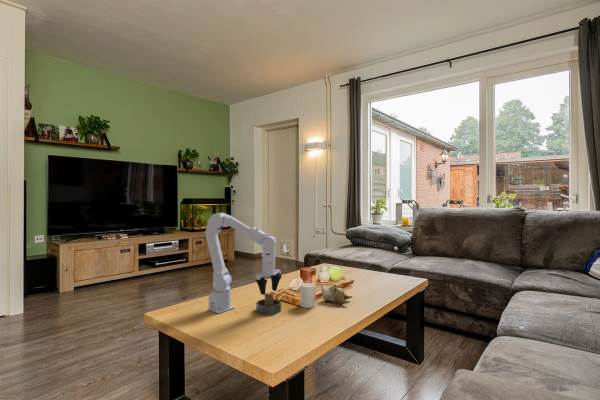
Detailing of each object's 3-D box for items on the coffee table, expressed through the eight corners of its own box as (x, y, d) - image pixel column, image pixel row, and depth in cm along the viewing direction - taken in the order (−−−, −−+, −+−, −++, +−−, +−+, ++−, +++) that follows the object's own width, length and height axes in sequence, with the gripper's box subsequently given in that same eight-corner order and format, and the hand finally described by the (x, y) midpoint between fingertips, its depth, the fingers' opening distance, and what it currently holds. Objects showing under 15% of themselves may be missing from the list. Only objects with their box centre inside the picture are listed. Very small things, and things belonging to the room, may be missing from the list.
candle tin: (269, 316, 143) (269, 308, 143) (251, 310, 150) (251, 303, 150) (285, 309, 152) (285, 302, 152) (268, 304, 158) (268, 297, 158)
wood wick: (269, 311, 147) (269, 296, 147) (261, 309, 150) (261, 294, 150) (276, 308, 151) (276, 294, 151) (268, 306, 154) (268, 292, 154)
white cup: (314, 309, 152) (314, 287, 152) (297, 307, 154) (297, 286, 154) (317, 303, 160) (317, 283, 160) (301, 302, 162) (301, 282, 161)
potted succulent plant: (324, 280, 170) (353, 284, 165) (323, 296, 171) (352, 302, 165) (318, 285, 160) (348, 290, 155) (317, 303, 161) (347, 309, 155)
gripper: (263, 266, 142) (263, 297, 142) (286, 261, 153) (285, 290, 154) (252, 264, 147) (252, 294, 147) (274, 259, 158) (274, 287, 158)
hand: (268, 292), depth 151 cm, fingers open, 7 cm apart
